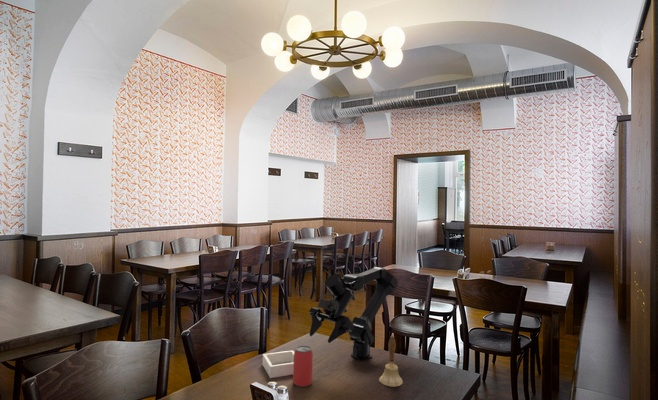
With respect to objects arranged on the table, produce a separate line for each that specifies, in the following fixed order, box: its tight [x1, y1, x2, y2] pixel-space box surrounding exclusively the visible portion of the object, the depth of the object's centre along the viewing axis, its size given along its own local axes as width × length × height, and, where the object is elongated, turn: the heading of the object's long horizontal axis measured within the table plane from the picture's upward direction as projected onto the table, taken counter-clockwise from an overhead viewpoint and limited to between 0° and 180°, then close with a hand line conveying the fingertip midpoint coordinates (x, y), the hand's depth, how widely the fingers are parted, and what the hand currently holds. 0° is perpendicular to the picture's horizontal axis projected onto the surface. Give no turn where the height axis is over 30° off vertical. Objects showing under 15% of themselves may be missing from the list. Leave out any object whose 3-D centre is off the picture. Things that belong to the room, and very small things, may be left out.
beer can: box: [292, 345, 314, 388], centre depth 132 cm, size 7×7×12 cm
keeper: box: [262, 350, 295, 379], centre depth 143 cm, size 12×12×4 cm
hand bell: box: [378, 335, 404, 388], centre depth 135 cm, size 8×8×16 cm
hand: (319, 338), depth 138 cm, fingers open, 9 cm apart
